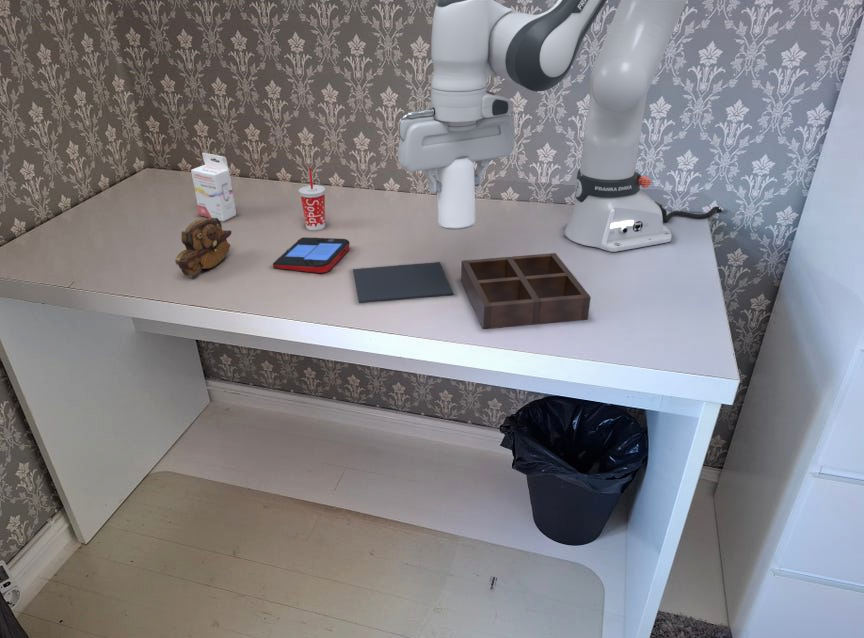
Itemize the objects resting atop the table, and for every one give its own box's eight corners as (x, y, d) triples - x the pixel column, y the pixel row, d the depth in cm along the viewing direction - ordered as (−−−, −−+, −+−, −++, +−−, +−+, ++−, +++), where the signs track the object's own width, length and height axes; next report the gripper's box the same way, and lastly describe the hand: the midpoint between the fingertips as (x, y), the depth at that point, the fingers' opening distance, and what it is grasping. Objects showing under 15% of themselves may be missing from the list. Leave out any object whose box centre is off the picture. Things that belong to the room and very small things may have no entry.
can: (473, 229, 116) (472, 158, 110) (436, 230, 117) (432, 160, 112) (476, 218, 121) (475, 150, 116) (441, 219, 123) (437, 151, 117)
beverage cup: (298, 229, 159) (291, 170, 152) (309, 220, 164) (303, 162, 156) (321, 232, 157) (316, 173, 150) (332, 223, 162) (327, 164, 154)
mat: (439, 264, 141) (439, 261, 141) (453, 295, 129) (453, 292, 129) (353, 271, 139) (353, 269, 139) (359, 303, 128) (358, 300, 127)
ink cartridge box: (198, 216, 169) (186, 157, 161) (212, 209, 172) (202, 151, 164) (223, 222, 165) (213, 161, 157) (237, 215, 168) (228, 156, 160)
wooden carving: (197, 284, 137) (187, 238, 131) (178, 282, 138) (167, 236, 133) (239, 252, 149) (231, 208, 144) (221, 250, 151) (213, 207, 145)
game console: (301, 241, 153) (300, 232, 152) (353, 248, 149) (353, 238, 148) (271, 268, 142) (269, 258, 141) (326, 276, 138) (325, 266, 137)
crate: (553, 273, 135) (555, 252, 133) (587, 319, 120) (590, 297, 117) (460, 281, 134) (461, 260, 131) (483, 329, 118) (484, 306, 116)
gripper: (406, 117, 103) (407, 204, 111) (522, 101, 109) (516, 185, 117) (390, 108, 108) (392, 192, 116) (502, 93, 114) (497, 174, 122)
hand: (455, 188), depth 116 cm, fingers closed on can, 6 cm apart
